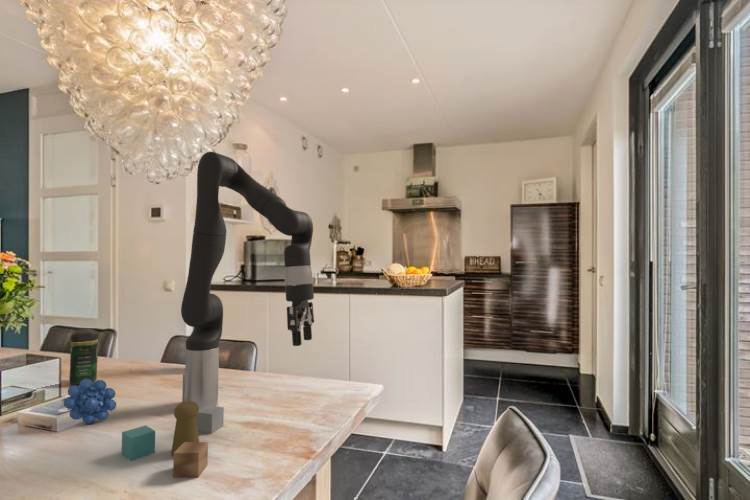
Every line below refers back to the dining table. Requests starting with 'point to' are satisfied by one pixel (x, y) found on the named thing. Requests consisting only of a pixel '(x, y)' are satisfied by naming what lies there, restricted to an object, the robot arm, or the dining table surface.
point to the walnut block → (190, 460)
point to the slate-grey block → (210, 419)
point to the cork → (185, 424)
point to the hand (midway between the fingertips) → (302, 342)
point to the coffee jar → (83, 356)
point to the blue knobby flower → (90, 401)
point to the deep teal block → (138, 442)
